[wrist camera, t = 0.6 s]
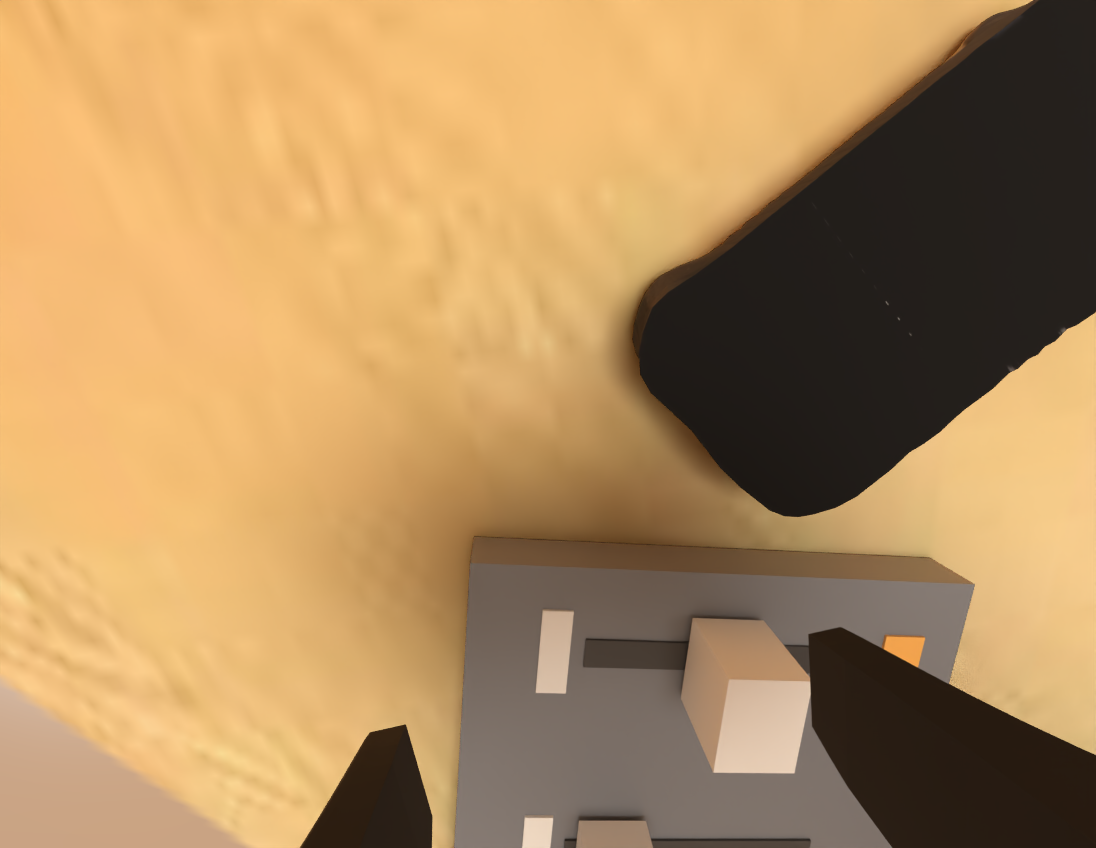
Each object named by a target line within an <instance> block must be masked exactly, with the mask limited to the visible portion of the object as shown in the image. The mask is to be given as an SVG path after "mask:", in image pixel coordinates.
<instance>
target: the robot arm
mask: <svg viewBox="0 0 1096 848" xmlns="http://www.w3.org/2000/svg"><path fill="white" fill-rule="evenodd" d="M808 641H809V665H810V690H811V714H812V727H813V729H814V731H815V733H816V734H817V736H818V738H819V740H820V741H821V743H822V745H823V747H824V748H825V750H826V752H827V753H828V755H829V757H830V759H831V760H832V762H833V764H834V765H835V767H836V769H837V770H838V772H839V774H840V775H841V777H842V778H843V780H844V782H845V783H846V785H847V787H848V788H849V789H850V791H851V792H852V794H853V795H854V796H855V798H856V799H857V801H858V802H859V803H860V805H861V806H862V807H863V809H864V810H865V812H866V813H867V814H868V816H869V817H870V818H871V820H872V821H873V822H874V824H875V825H876V826H877V828H878V829H879V831H880V832H881V833H882V835H883V836H884V837H885V839H886V840H887V841H888V843H889V844H890V845H891V847H892V848H1096V755H1094V754H1092V753H1090V752H1087V751H1085V750H1083V749H1081V748H1078V747H1076V746H1074V745H1072V744H1070V743H1068V742H1066V741H1064V740H1061V739H1059V738H1057V737H1055V736H1053V735H1051V734H1049V733H1047V732H1044V731H1042V730H1040V729H1038V728H1036V727H1034V726H1032V725H1030V724H1027V723H1025V722H1023V721H1021V720H1019V719H1017V718H1015V717H1013V716H1011V715H1009V714H1007V713H1005V712H1003V711H1001V710H999V709H997V708H995V707H993V706H991V705H989V704H987V703H985V702H983V701H981V700H979V699H977V698H975V697H973V696H971V695H969V694H967V693H965V692H963V691H961V690H960V689H958V688H956V687H954V686H952V685H950V684H948V683H946V682H944V681H942V680H940V679H939V678H937V677H935V676H933V675H931V674H929V673H927V672H925V671H923V670H922V669H920V668H918V667H916V666H914V665H912V664H910V663H909V662H907V661H905V660H903V659H901V658H899V657H897V656H896V655H894V654H892V653H890V652H888V651H886V650H884V649H882V648H881V647H879V646H877V645H875V644H873V643H871V642H869V641H867V640H866V639H864V638H862V637H860V636H858V635H856V634H854V633H852V632H850V631H848V630H846V629H844V628H842V627H838V628H833V629H829V630H824V631H820V632H815V633H811V634H808ZM300 848H432V814H431V810H430V807H429V803H428V800H427V796H426V793H425V789H424V786H423V782H422V779H421V775H420V772H419V768H418V765H417V762H416V758H415V755H414V751H413V748H412V744H411V741H410V737H409V734H408V730H407V727H406V725H401V726H397V727H392V728H388V729H383V730H379V731H375V732H370V733H369V735H368V736H367V737H366V739H365V740H364V742H363V744H362V745H361V747H360V749H359V750H358V752H357V754H356V756H355V757H354V759H353V761H352V762H351V764H350V766H349V768H348V769H347V771H346V773H345V774H344V776H343V778H342V779H341V781H340V783H339V785H338V786H337V788H336V790H335V791H334V793H333V795H332V796H331V798H330V800H329V801H328V803H327V805H326V806H325V808H324V810H323V811H322V813H321V815H320V816H319V818H318V820H317V821H316V823H315V824H314V826H313V828H312V829H311V831H310V833H309V834H308V836H307V837H306V839H305V841H304V842H303V844H302V845H301V847H300Z"/></svg>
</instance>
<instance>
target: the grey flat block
mask: <svg viewBox="0 0 1096 848" xmlns="http://www.w3.org/2000/svg"><path fill="white" fill-rule="evenodd" d="M974 586H975V584H973V583H972V582H970V581H968V580H967V579H965V578H963V577H962V576H960V575H958V574H956V573H955V572H953V571H951V570H950V569H948V568H946V567H945V566H943V565H941V564H940V563H938V562H936V561H935V560H933V559H931V558H922V557H900V556H879V555H857V554H836V553H815V552H793V551H772V550H750V549H729V548H708V547H686V546H665V545H643V544H622V543H600V542H579V541H558V540H536V539H515V538H493V537H474V541H473V547H472V554H471V560H470V573H469V591H468V609H467V627H466V645H465V663H464V681H463V699H462V717H461V735H460V753H459V771H458V789H457V807H456V825H455V843H454V848H576V843H577V834H578V825H579V821H646V823H647V827H648V831H649V834H650V838H651V842H652V846H653V848H892V847H891V845H890V844H889V843H888V841H887V840H886V839H885V837H884V836H883V835H882V833H881V832H880V831H879V829H878V828H877V826H876V825H875V824H874V822H873V821H872V820H871V818H870V817H869V816H868V814H867V813H866V812H865V810H864V809H863V807H862V806H861V805H860V803H859V802H858V801H857V799H856V798H855V796H854V795H853V794H852V792H851V791H850V789H849V788H848V787H847V785H846V783H845V782H844V780H843V778H842V777H841V775H840V774H839V772H838V770H837V769H836V767H835V765H834V764H833V762H832V760H831V759H830V757H829V755H828V753H827V752H826V750H825V748H824V747H823V745H822V743H821V741H820V740H819V738H818V736H817V734H816V733H815V731H814V729H813V727H812V714H811V695H810V699H809V704H808V709H807V714H806V719H805V724H804V729H803V734H802V738H801V743H800V748H799V753H798V758H797V763H796V768H795V773H713V771H712V768H711V766H710V764H709V762H708V759H707V757H706V755H705V752H704V750H703V748H702V746H701V743H700V741H699V739H698V737H697V734H696V732H695V730H694V727H693V725H692V723H691V721H690V718H689V716H688V714H687V711H686V709H685V707H684V705H683V702H682V700H681V693H682V686H683V680H684V673H685V666H686V660H687V653H688V646H689V640H690V633H691V626H692V619H693V618H710V619H738V620H764V622H765V623H766V624H767V625H768V627H769V628H770V629H771V630H772V631H773V633H774V634H775V635H776V636H777V638H778V639H779V640H780V641H781V643H782V644H783V645H784V646H785V647H786V649H787V650H788V651H789V652H790V654H791V655H792V656H793V657H794V659H795V660H796V661H797V662H798V664H799V665H800V666H801V667H802V668H803V670H804V671H805V672H806V673H807V675H808V676H809V677H810V665H809V641H808V634H811V633H815V632H820V631H824V630H829V629H833V628H838V627H842V628H844V629H846V630H848V631H850V632H852V633H854V634H856V635H858V636H860V637H862V638H864V639H866V640H867V641H869V642H871V643H873V644H875V645H877V646H879V647H881V648H882V649H884V650H886V651H888V652H890V653H892V654H894V655H896V656H897V657H899V658H901V659H903V660H905V661H907V662H909V663H910V664H912V665H914V666H916V667H918V668H920V669H922V670H923V671H925V672H927V673H929V674H931V675H933V676H935V677H937V678H939V679H940V680H942V681H944V682H946V683H948V684H949V681H950V677H951V673H952V670H953V666H954V662H955V658H956V654H957V651H958V647H959V643H960V639H961V635H962V632H963V628H964V624H965V620H966V616H967V613H968V609H969V605H970V601H971V597H972V594H973V590H974Z"/></svg>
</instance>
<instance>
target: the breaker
mask: <svg viewBox="0 0 1096 848" xmlns="http://www.w3.org/2000/svg"><path fill="white" fill-rule="evenodd" d="M576 848H653V846H652V842H651V838H650V834H649V831H648V827H647V823H646V821H579V825H578V834H577V843H576Z"/></svg>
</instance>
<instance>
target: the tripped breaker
mask: <svg viewBox="0 0 1096 848" xmlns="http://www.w3.org/2000/svg"><path fill="white" fill-rule="evenodd" d="M810 695H811V690H810V677H809V676H808V675H807V673H806V672H805V671H804V670H803V668H802V667H801V666H800V665H799V664H798V662H797V661H796V660H795V659H794V657H793V656H792V655H791V654H790V652H789V651H788V650H787V649H786V647H785V646H784V645H783V644H782V643H781V641H780V640H779V639H778V638H777V636H776V635H775V634H774V633H773V631H772V630H771V629H770V628H769V627H768V625H767V624H766V623H765V622H764V620H738V619H710V618H693V619H692V626H691V633H690V640H689V646H688V653H687V660H686V666H685V673H684V680H683V686H682V693H681V700H682V702H683V705H684V707H685V709H686V711H687V714H688V716H689V718H690V721H691V723H692V725H693V727H694V730H695V732H696V734H697V737H698V739H699V741H700V743H701V746H702V748H703V750H704V752H705V755H706V757H707V759H708V762H709V764H710V766H711V768H712V771H713V773H795V768H796V763H797V758H798V753H799V748H800V743H801V738H802V734H803V729H804V724H805V719H806V714H807V709H808V704H809V699H810Z"/></svg>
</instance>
